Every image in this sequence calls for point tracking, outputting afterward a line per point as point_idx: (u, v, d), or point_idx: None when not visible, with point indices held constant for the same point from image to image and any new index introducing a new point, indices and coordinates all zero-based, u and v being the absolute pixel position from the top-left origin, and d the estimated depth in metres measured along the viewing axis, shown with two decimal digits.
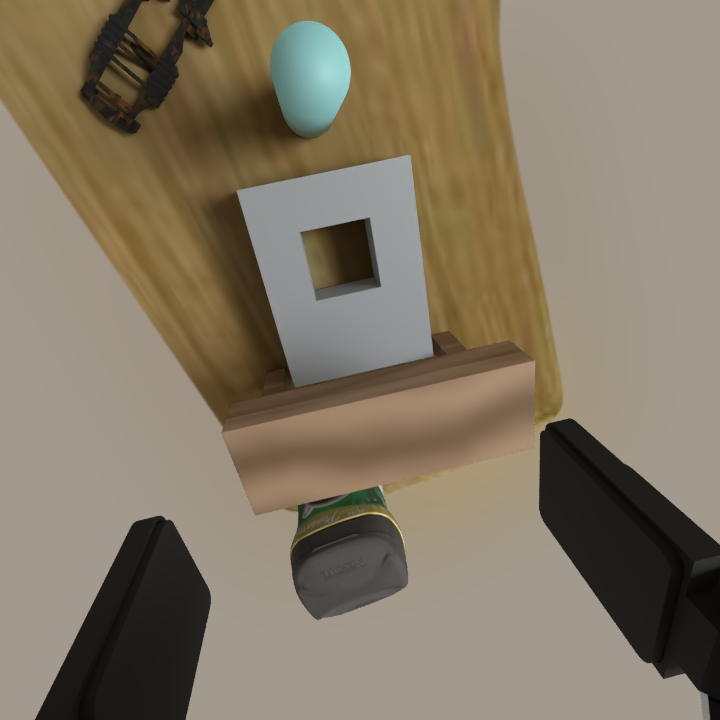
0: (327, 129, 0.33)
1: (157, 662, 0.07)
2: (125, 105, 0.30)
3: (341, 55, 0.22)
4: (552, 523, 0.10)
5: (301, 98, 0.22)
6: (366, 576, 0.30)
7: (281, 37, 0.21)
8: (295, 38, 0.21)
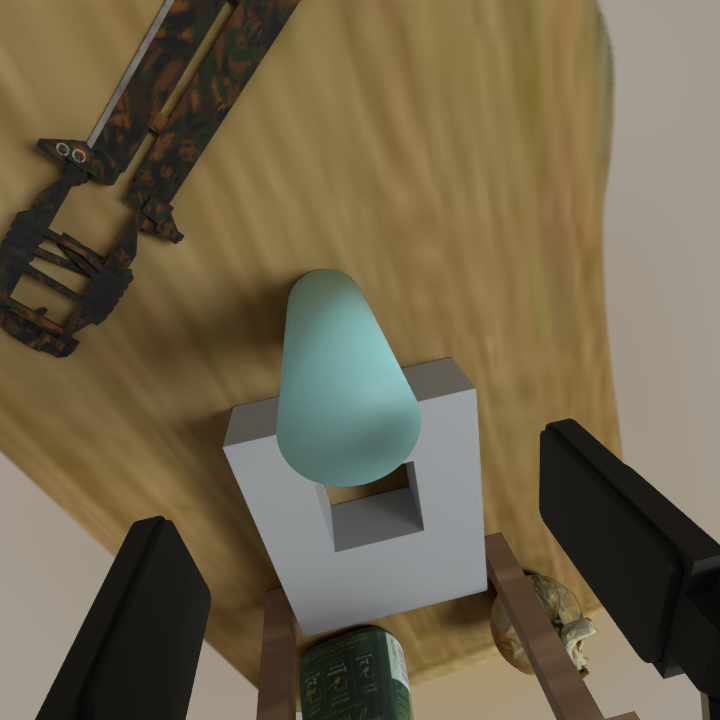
0: None
1: (157, 662, 0.07)
2: (52, 327, 0.20)
3: (406, 406, 0.12)
4: (552, 523, 0.10)
5: (331, 466, 0.12)
6: None
7: (296, 393, 0.11)
8: (323, 391, 0.11)
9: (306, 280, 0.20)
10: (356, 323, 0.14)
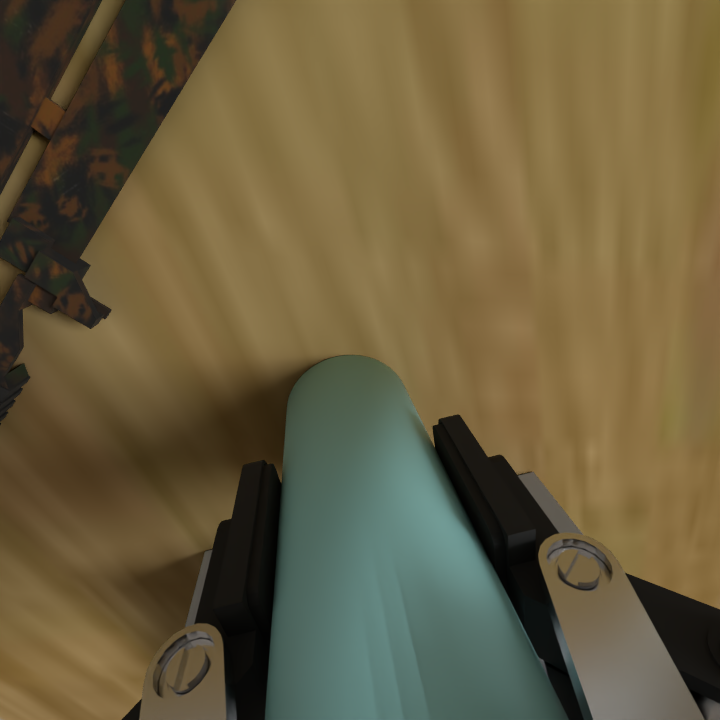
0: None
1: None
2: None
3: None
4: None
5: None
6: None
7: None
8: None
9: (318, 382, 0.12)
10: (447, 579, 0.06)
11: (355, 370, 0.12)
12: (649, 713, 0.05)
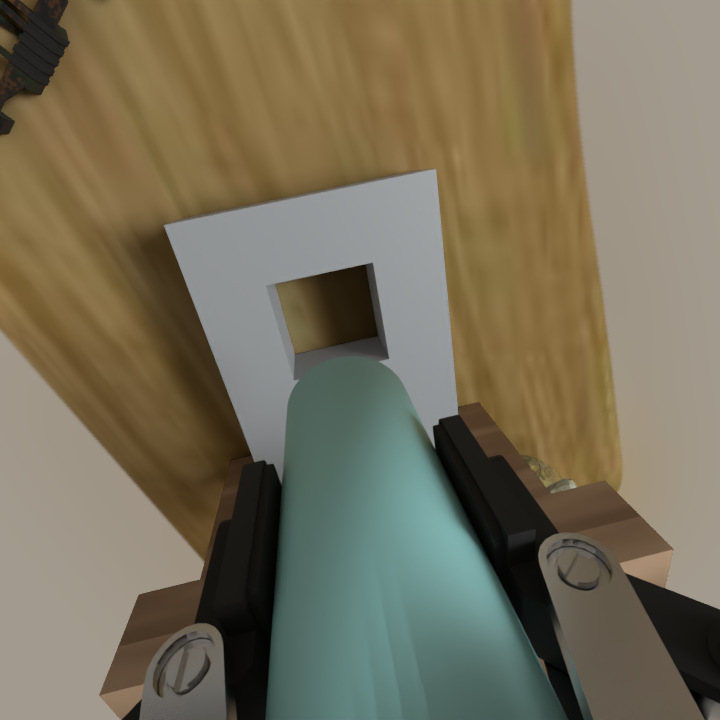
0: None
1: None
2: None
3: None
4: None
5: None
6: None
7: None
8: None
9: (318, 383, 0.12)
10: (448, 581, 0.06)
11: (355, 371, 0.12)
12: (649, 713, 0.05)
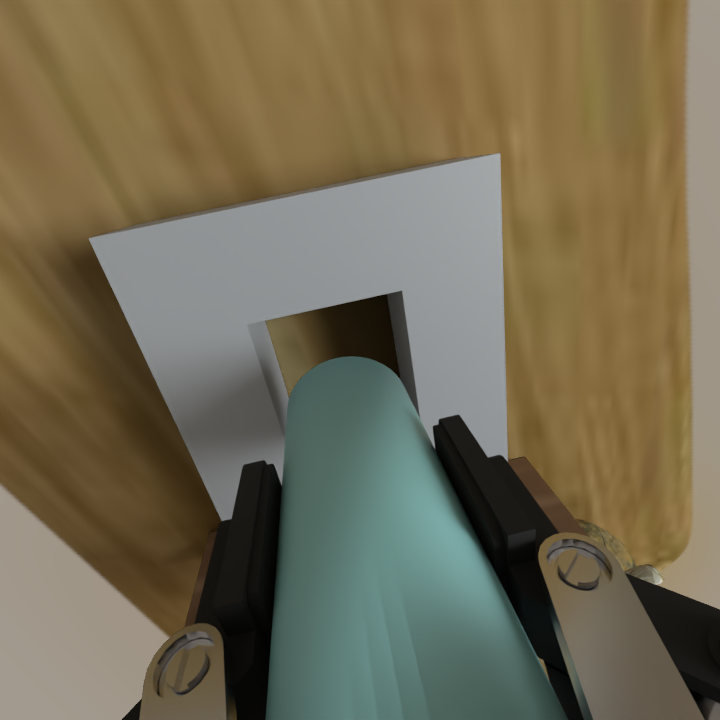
0: None
1: None
2: None
3: None
4: None
5: None
6: None
7: None
8: None
9: (318, 383, 0.12)
10: (448, 582, 0.06)
11: (355, 372, 0.12)
12: (649, 713, 0.05)
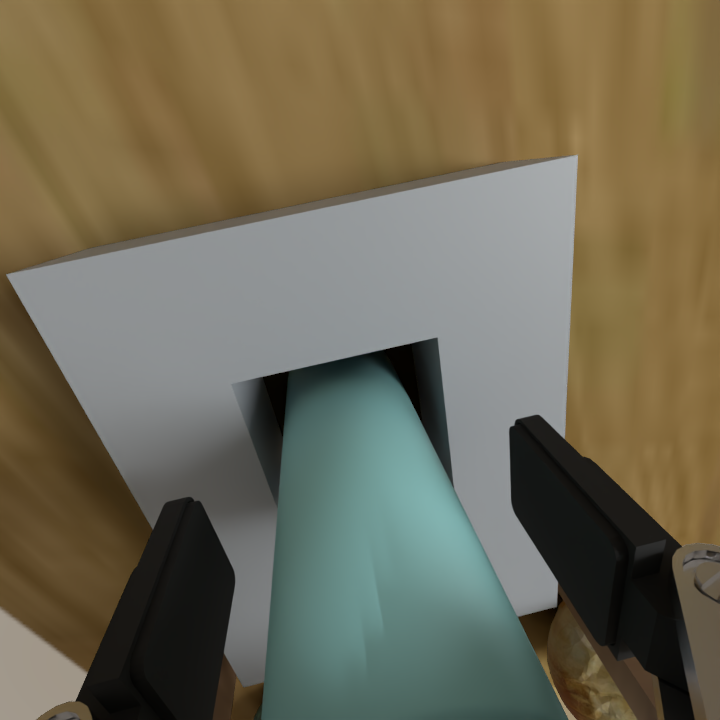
0: None
1: (193, 632, 0.08)
2: None
3: None
4: (522, 516, 0.10)
5: None
6: None
7: None
8: None
9: None
10: (412, 485, 0.08)
11: None
12: None
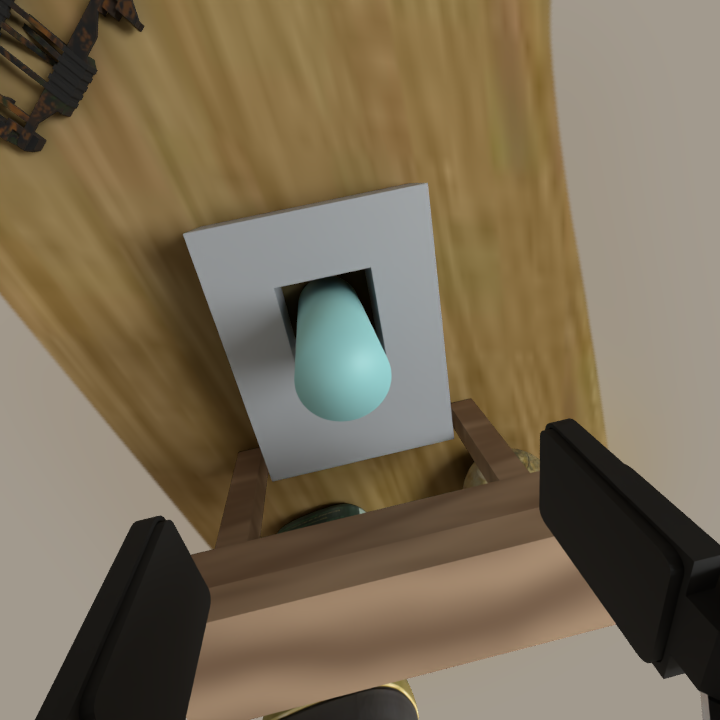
0: None
1: (157, 662, 0.07)
2: (18, 113, 0.21)
3: (380, 362, 0.18)
4: (552, 523, 0.10)
5: (331, 405, 0.18)
6: None
7: (308, 352, 0.17)
8: (325, 351, 0.17)
9: (313, 284, 0.27)
10: (349, 311, 0.20)
11: (330, 279, 0.27)
12: None
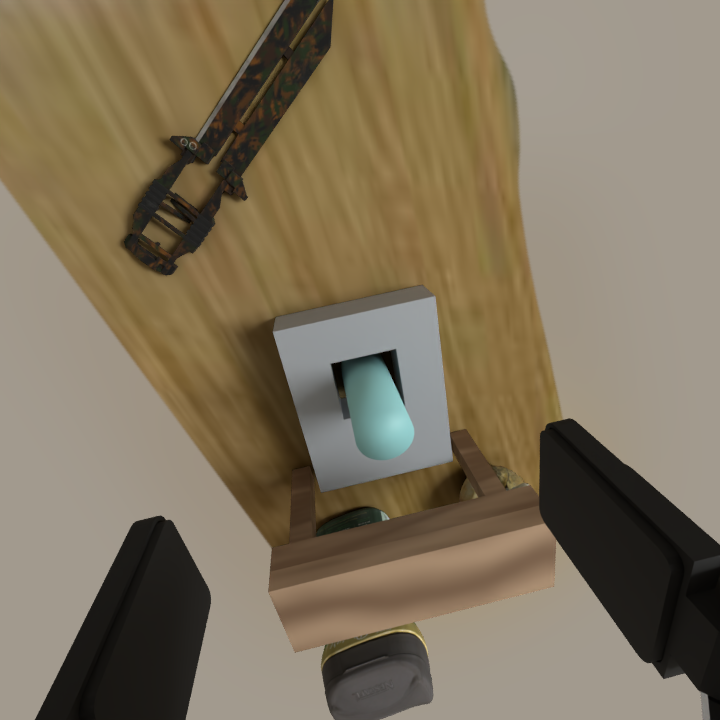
0: None
1: (157, 662, 0.07)
2: (164, 254, 0.32)
3: (408, 425, 0.29)
4: (552, 523, 0.10)
5: (376, 451, 0.30)
6: (396, 697, 0.32)
7: (364, 420, 0.28)
8: (375, 420, 0.28)
9: None
10: (385, 387, 0.32)
11: None
12: None
